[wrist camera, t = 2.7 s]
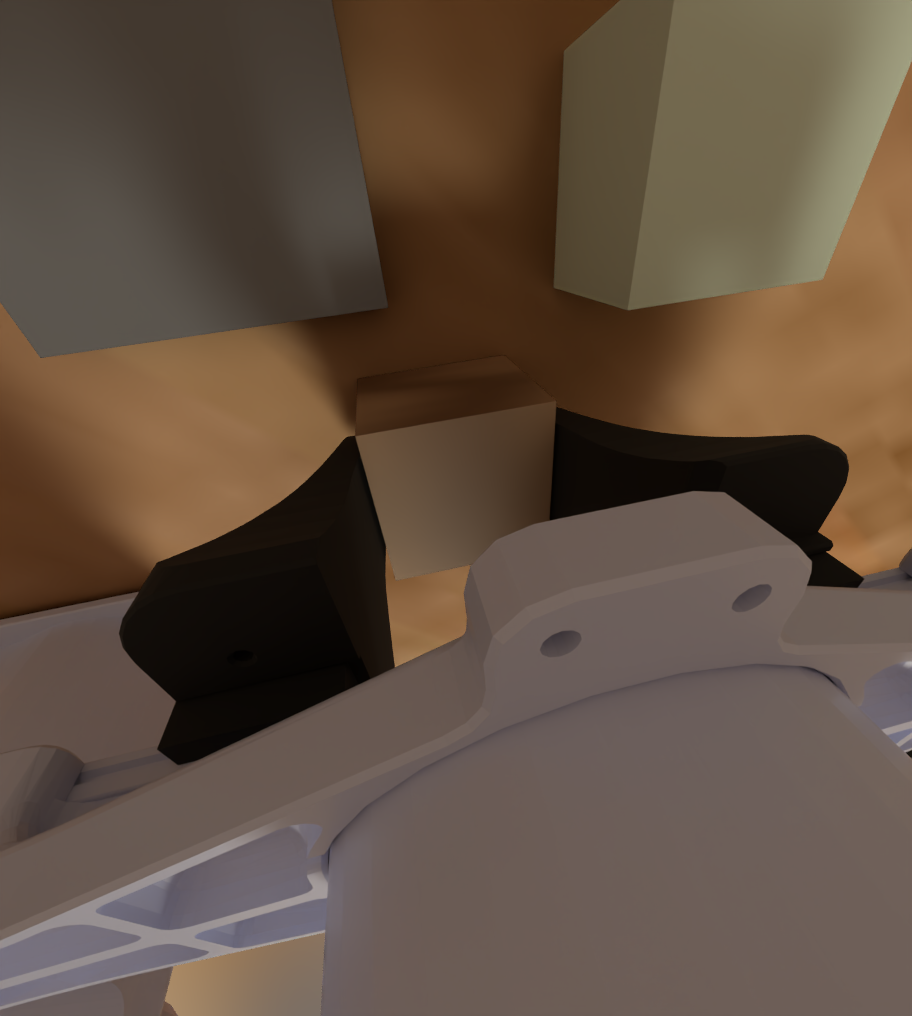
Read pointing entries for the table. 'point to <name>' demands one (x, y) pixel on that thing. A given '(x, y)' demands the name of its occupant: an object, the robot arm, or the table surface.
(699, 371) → the table surface
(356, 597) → the robot arm
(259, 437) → the table surface
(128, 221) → the slate board
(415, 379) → the walnut block
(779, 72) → the sage cube
